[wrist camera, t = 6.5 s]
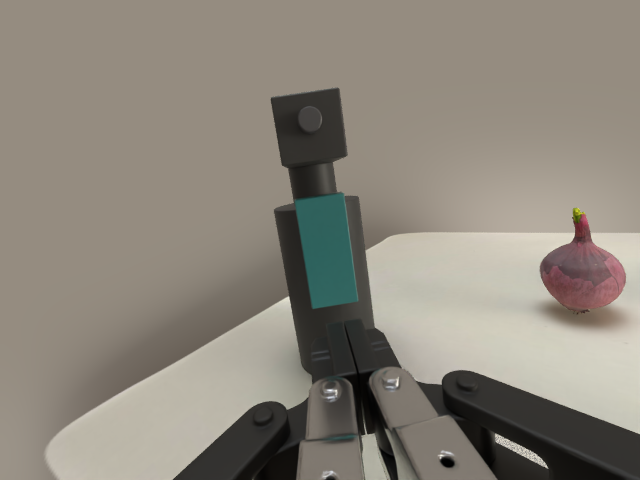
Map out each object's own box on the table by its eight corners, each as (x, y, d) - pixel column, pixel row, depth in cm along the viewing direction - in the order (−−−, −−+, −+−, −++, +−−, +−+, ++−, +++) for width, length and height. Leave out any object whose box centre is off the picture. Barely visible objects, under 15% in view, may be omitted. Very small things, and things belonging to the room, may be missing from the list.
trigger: (358, 301, 20) (344, 192, 19) (312, 309, 20) (294, 200, 19) (355, 294, 21) (341, 191, 20) (311, 302, 21) (294, 198, 20)
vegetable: (598, 298, 32) (603, 199, 29) (643, 330, 26) (652, 209, 24) (529, 300, 33) (529, 207, 31) (556, 330, 27) (558, 218, 25)
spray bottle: (412, 430, 20) (376, 76, 15) (301, 449, 19) (233, 96, 15) (368, 329, 32) (342, 120, 28) (301, 340, 32) (264, 132, 28)
